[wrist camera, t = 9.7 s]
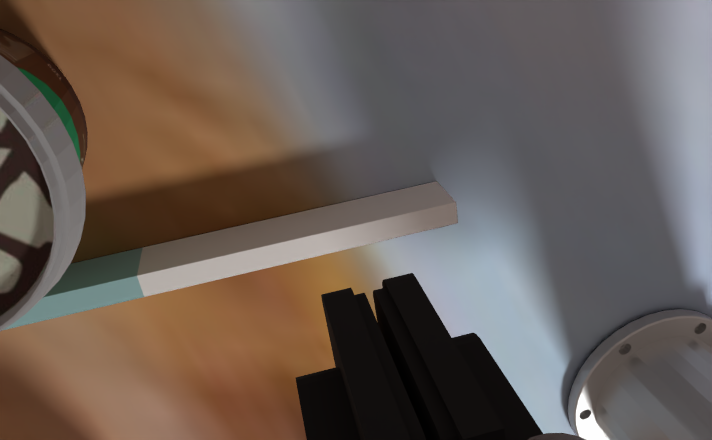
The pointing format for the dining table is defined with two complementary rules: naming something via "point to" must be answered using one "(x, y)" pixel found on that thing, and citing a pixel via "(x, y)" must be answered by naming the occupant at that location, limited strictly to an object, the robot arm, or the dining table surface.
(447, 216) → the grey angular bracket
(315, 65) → the dining table surface
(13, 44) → the food container
